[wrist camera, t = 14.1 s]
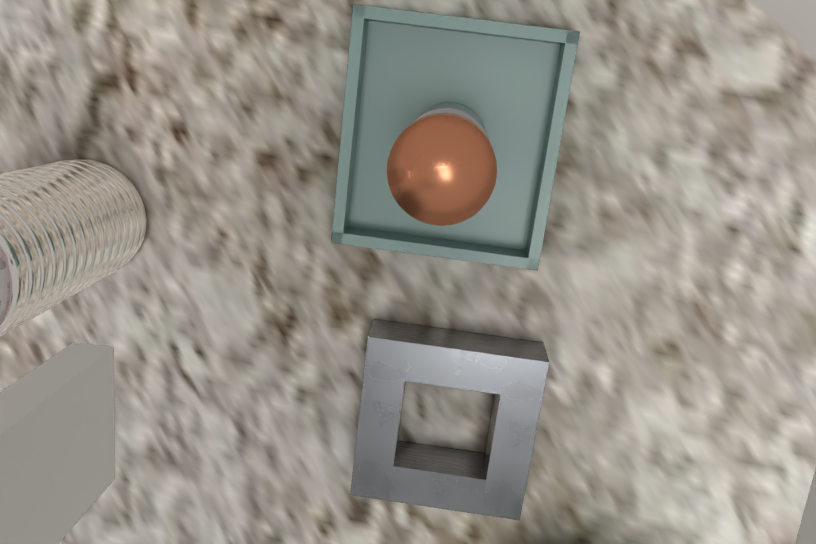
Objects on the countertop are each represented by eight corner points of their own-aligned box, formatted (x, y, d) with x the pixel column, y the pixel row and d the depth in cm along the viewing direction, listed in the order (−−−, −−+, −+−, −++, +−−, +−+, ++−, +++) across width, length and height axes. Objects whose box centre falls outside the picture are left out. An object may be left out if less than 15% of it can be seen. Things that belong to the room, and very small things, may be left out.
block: (357, 468, 45) (350, 494, 42) (374, 319, 42) (368, 336, 39) (515, 491, 45) (519, 520, 42) (543, 342, 42) (549, 362, 39)
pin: (407, 172, 39) (381, 218, 27) (416, 97, 38) (393, 108, 26) (480, 182, 39) (488, 232, 26) (491, 107, 38) (505, 122, 25)
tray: (338, 232, 41) (331, 242, 39) (360, 8, 38) (353, 4, 35) (533, 258, 41) (537, 270, 38) (572, 34, 37) (579, 31, 35)
